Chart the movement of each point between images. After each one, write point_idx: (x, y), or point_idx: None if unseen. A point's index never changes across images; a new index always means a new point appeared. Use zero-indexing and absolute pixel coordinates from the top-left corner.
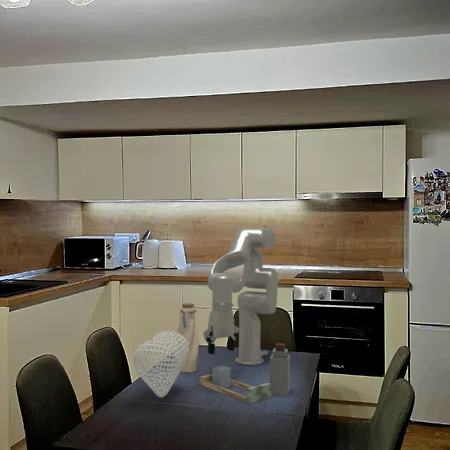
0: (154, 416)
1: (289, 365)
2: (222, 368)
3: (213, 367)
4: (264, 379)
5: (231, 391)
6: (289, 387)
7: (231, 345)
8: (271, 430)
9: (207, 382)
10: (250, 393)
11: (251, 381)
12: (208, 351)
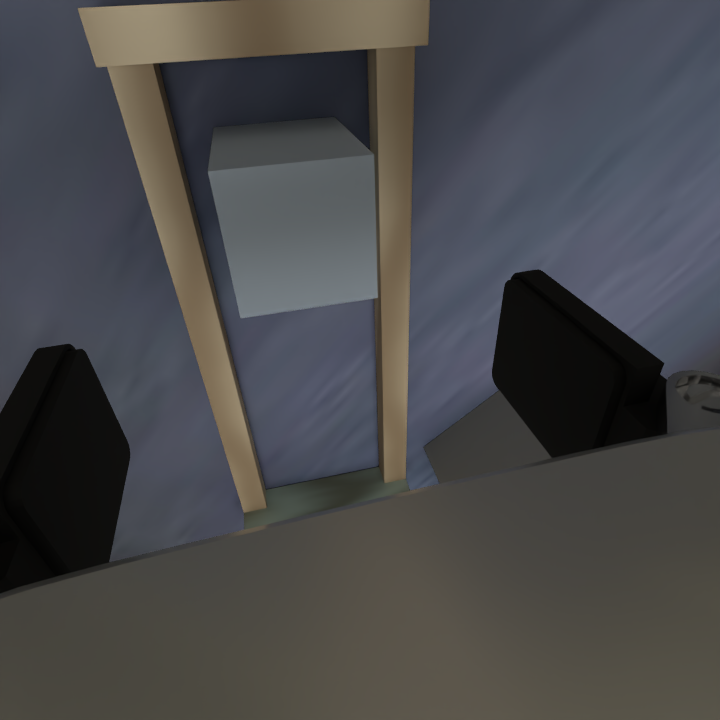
0: None
1: None
2: (298, 267)
3: (222, 177)
4: (628, 230)
5: (231, 408)
6: None
7: (536, 409)
8: None
9: (151, 132)
10: None
11: (536, 219)
12: (36, 366)
